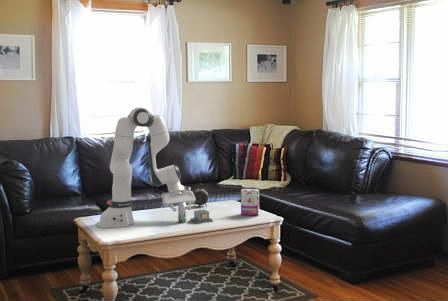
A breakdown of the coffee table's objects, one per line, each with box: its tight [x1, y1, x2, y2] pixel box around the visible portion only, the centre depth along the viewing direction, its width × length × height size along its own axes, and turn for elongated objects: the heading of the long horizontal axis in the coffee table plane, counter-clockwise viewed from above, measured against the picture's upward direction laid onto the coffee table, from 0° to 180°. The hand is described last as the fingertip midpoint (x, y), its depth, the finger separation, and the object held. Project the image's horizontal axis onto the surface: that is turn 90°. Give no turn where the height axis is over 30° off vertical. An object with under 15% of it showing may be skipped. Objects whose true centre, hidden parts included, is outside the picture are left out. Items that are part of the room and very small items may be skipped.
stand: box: [190, 209, 214, 224], centre depth 337 cm, size 11×9×6 cm
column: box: [177, 202, 187, 224], centre depth 334 cm, size 5×5×12 cm
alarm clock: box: [193, 182, 210, 208], centre depth 377 cm, size 11×5×16 cm, turn 84°
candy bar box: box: [240, 188, 260, 217], centre depth 352 cm, size 11×5×16 cm, turn 76°
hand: (182, 210), depth 333 cm, fingers open, 8 cm apart
